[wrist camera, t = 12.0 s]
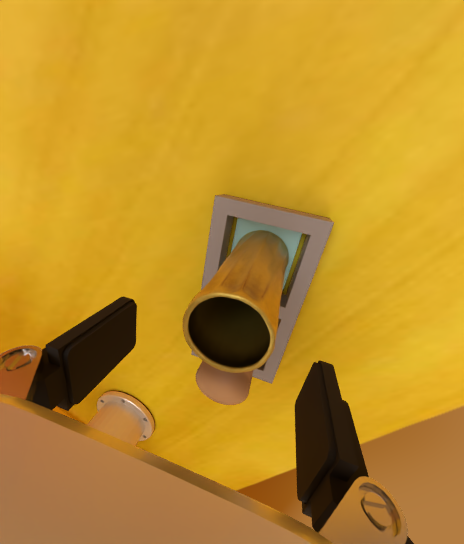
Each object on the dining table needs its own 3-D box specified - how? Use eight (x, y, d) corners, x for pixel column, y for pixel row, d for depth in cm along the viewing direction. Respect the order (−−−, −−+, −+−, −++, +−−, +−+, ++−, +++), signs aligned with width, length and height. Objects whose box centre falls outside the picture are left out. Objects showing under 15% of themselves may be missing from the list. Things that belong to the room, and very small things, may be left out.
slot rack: (273, 365, 30) (271, 383, 27) (200, 340, 31) (191, 354, 29) (328, 218, 21) (334, 222, 19) (224, 194, 23) (215, 195, 20)
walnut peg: (257, 342, 29) (242, 412, 20) (223, 330, 30) (192, 392, 21) (267, 311, 27) (254, 374, 18) (229, 300, 28) (199, 354, 19)
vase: (294, 234, 22) (297, 299, 10) (282, 286, 25) (272, 392, 12) (238, 225, 24) (174, 272, 11) (232, 275, 26) (174, 362, 13)
